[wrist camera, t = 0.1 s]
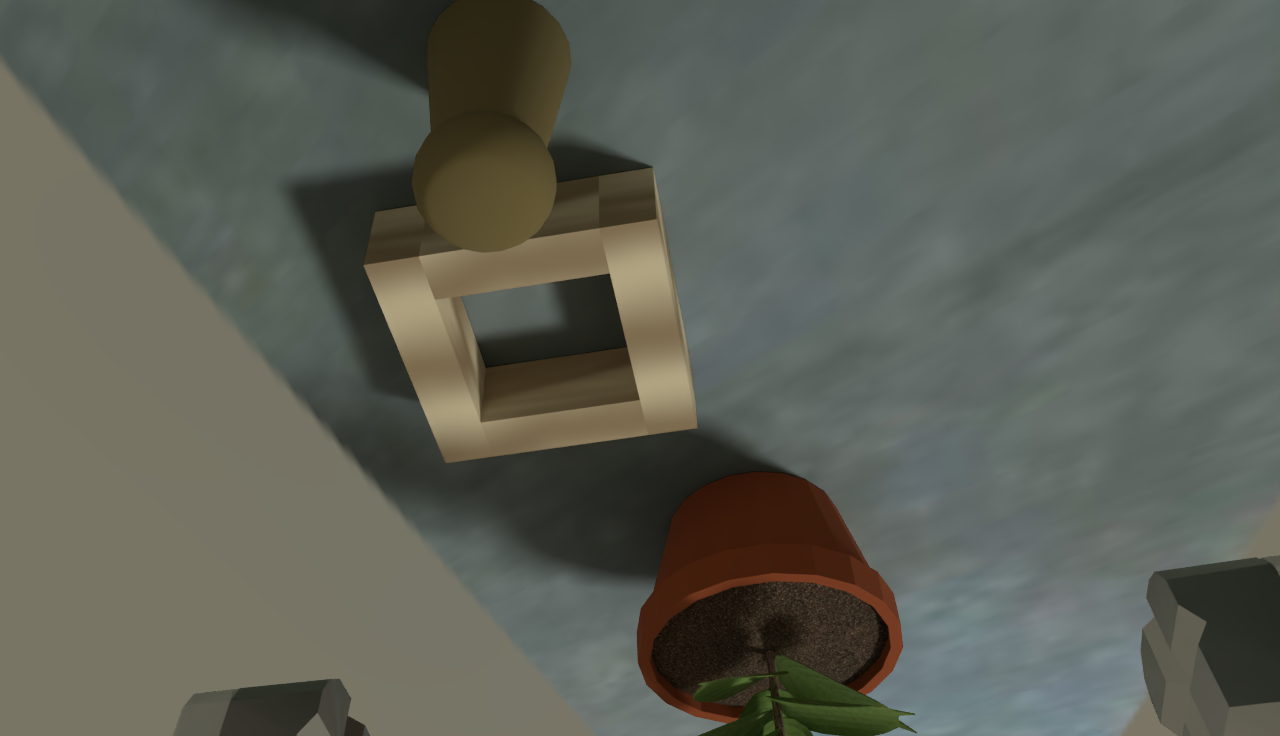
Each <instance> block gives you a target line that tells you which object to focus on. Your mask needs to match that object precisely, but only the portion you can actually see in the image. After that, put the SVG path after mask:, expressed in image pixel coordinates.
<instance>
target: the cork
mask: <svg viewBox="0 0 1280 736" xmlns="http://www.w3.org/2000/svg"><path fill="white" fill-rule="evenodd" d="M426 57H427V74H428V91H429V107H430V124H431V132H430V134H429V135H428V136H427V138H426V139H425V141H424V142H423V144H422V146H421V148H420V149H419V151H418V153H417V155H416V158H415V162H414V168H413V176H412V183H411V184H412V188H413V192H414V196H415V200H416V204H417V209H418V211H419V213H420V214H421V216H422V217H423V219H424V220H425V222H426V223H427V225H428V226H429V227H430V228H431V229H432V230H433V231H435V232H436V233H437V234H438V235H439V236H441V237H442V238H443V239H444V240H446V241H447V242H449V243H451V244H453V245H455V246H458V247H460V248H462V249H464V250H470V251H476V252H482V253H486V252H498V251H504V250H506V249H509V248H512V247H515V246H518V245H520V244H522V243H523V242H525V241H526V240H528V239H529V238H530V237H532V236H533V235H534V234H536V233H537V232H538V231H539V230H540V228H541V227H542V225H543V224H544V222H545V221H546V220H547V218H548V217H549V215H550V213H551V211H552V208H553V204H554V200H555V195H556V191H557V181H556V174H555V167H554V162H553V160H552V157H551V155H550V153H549V151H548V149H547V148H548V144H549V141H550V138H551V134H552V131H553V127H554V124H555V121H556V117H557V114H558V110H559V107H560V104H561V100H562V97H563V93H564V90H565V87H566V83H567V79H568V75H569V70H570V66H571V58H570V50H569V42H568V40H567V38H566V36H565V34H564V32H563V30H562V28H561V26H560V24H559V22H558V21H557V20H556V19H555V18H554V17H553V16H552V15H551V14H550V13H549V12H548V11H547V10H546V9H545V8H544V7H543V6H541V5H539V4H538V3H536V2H534V1H532V0H456V1H455V2H453V3H452V4H451V5H450V6H449V7H448V8H447V9H446V10H444V11H443V12H442V13H441V14H440V15H439V16H438V18H437V20H436V22H435V24H434V25H433V27H432V29H431V31H430V33H429V38H428V45H427V53H426Z"/></svg>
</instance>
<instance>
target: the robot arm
mask: <svg viewBox="0 0 1280 736" xmlns="http://www.w3.org/2000/svg"><path fill="white" fill-rule="evenodd" d="M1146 598H1147V601H1148V603H1149V605H1150V607H1151V609H1152V612H1153V614H1154V616H1155V617H1154V618H1153V619H1152V620H1151V621H1150V622H1149V623H1148V624H1147V625H1146V626H1145V627H1144V628H1143V629H1142V642H1141V657H1142V665H1143V672H1144V679H1145V682H1146V685H1147V689H1148V692H1149V695H1150V699H1151V701H1152V704H1153V706H1154V709H1155V711H1156V713H1157V716H1158V718H1159V721H1160V723H1161V724H1163V725H1164V726H1165V727H1167V728H1168V729H1169V730H1171V731H1172V732H1174V733H1175V734H1176V735H1178V736H1280V555H1279V556H1271V557H1263V558H1261V559H1258V558H1249V559H1241V560H1234V561H1227V562H1220V563H1213V564H1206V565H1199V566H1192V567H1185V568H1178V569H1171V570H1164V571H1156V572H1154V573H1153V575H1152V576H1151V578H1150V579H1149V583H1148V590H1147V597H1146ZM350 701H351V697H350V696H349V694H348V692H347V690H346V689H345V687H344V686H343V684H342V682H341V680H340V679H327V680H317V681H307V682H297V683H288V684H278V685H268V686H258V687H248V688H240V689H231V690H223V691H214V692H205V693H197V694H194V695H193V696H192V697H191V698H190V699H189V700H188V702H187V703H186V704H185V705H184V707H183V708H182V710H181V713H180V716H179V719H178V721H177V724H176V727H175V730H174V733H173V736H370V735H369V733H368V730H367V729H366V726H365V725H364V724H362V723H360V722H358V721H356V720H355V719H353V718H351V717H349V716H348V711H349V706H350Z"/></svg>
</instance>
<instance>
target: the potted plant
mask: <svg viewBox="0 0 1280 736" xmlns="http://www.w3.org/2000/svg"><path fill="white" fill-rule="evenodd" d="M902 648H903V642H902V633H901V624H900V620H899V615H898V611H897V606H896V602H895V598H894V594H893V592H892V591H891V589H890V588H889V587H888V585H887V584H886V583H885V581H884V580H883V579H882V577H881V576H880V575H879V573H878V572H877V571H875V570H874V569H872V568H870V567H869V565H868V563H867V562H866V560H865V558H864V556H863V554H862V553H861V551H860V549H859V547H858V546H857V544H856V542H855V540H854V538H853V537H852V535H851V533H850V531H849V529H848V528H847V526H846V524H845V522H844V521H843V519H842V517H841V515H840V513H839V512H838V510H837V508H836V506H835V505H834V504H833V502H832V501H831V500H830V498H829V497H828V495H827V494H826V493H825V492H824V491H823V490H821V489H820V488H818V487H817V486H815V485H813V484H812V483H810V482H809V481H807V480H805V479H801V478H798V477H794V476H791V475H787V474H784V473H771V472H750V473H744V474H738V475H732V476H727V477H724V478H722V479H719V480H717V481H714V482H712V483H710V484H707V485H705V486H702V487H701V488H700V489H698V490H697V491H696V492H694V493H693V494H692V495H690V496H689V497H688V498H686V499H685V500H684V501H683V502H682V504H681V505H680V507H679V508H678V510H677V511H676V513H675V514H674V515H673V517H672V521H671V525H670V529H669V533H668V537H667V541H666V545H665V548H664V552H663V556H662V560H661V564H660V568H659V572H658V576H657V579H656V583H655V587H654V591H653V593H652V594H651V595H650V597H649V598H648V599H647V601H646V602H645V604H644V605H643V606H642V608H641V611H640V617H639V623H638V629H637V652H638V664H639V667H640V669H641V672H642V674H643V677H644V680H645V682H646V685H647V686H648V687H650V688H651V689H652V690H653V691H654V692H655V693H656V694H657V695H658V696H659V697H660V698H661V699H662V700H664V701H665V702H666V703H667V704H669V705H672V706H674V707H676V708H678V709H680V710H682V711H684V712H687V713H689V714H691V715H693V716H695V717H700V718H705V719H710V720H714V721H719V722H724V723H728V724H726V725H723V726H721V727H718V728H716V729H713V730H711V731H708V732H706V733H704V734H701V735H699V736H813V735H812V733H811V732H810V731H814V732H818V733H822V734H830V735H840V736H875V735H879V734H884V733H887V732H889V731H892V730H894V729H896V728H898V727H900V728H903V729H906V730H909V731H912V732H915V733H917V732H916V731H914V730H913V729H911V728H910V727H908V726H907V725H905V724H904V723H902V722H901V721H899V719H898V718H899V716H901V715H915V714H914V713H909V712H903V711H898V710H893V709H890V708H888V707H886V706H885V705H883V704H881V703H880V702H878V701H876V700H874V699H872V698H870V697H868V696H866V694H868V693H870V692H871V691H873V690H874V689H875V688H876V687H877V686H878V685H879V684H880V683H881V682H882V681H883V680H884V679H885V678H886V677H887V676H888V675H889V674H890V673H891V672H892V671H893V669H894V667H895V665H896V662H897V660H898V658H899V655H900V653H901V651H902Z"/></svg>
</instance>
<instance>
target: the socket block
mask: <svg viewBox="0 0 1280 736" xmlns="http://www.w3.org/2000/svg"><path fill="white" fill-rule="evenodd" d="M363 266H364V268H365V270H366V273H367V275H368V278H369V280H370V282H371V285H372V287H373V290H374V292H375V294H376V297H377V299H378V302H379V304H380V307H381V309H382V311H383V314H384V316H385V319H386V321H387V323H388V326H389V328H390V331H391V333H392V335H393V338H394V340H395V343H396V345H397V347H398V350H399V352H400V355H401V357H402V360H403V362H404V364H405V367H406V369H407V372H408V374H409V376H410V379H411V381H412V384H413V386H414V388H415V391H416V393H417V396H418V398H419V400H420V403H421V405H422V408H423V410H424V413H425V415H426V417H427V420H428V422H429V425H430V427H431V429H432V432H433V434H434V437H435V439H436V441H437V444H438V446H439V449H440V451H441V453H442V456H443V458H444V461H445V463H451V462H458V461H465V460H473V459H480V458H487V457H494V456H501V455H508V454H516V453H523V452H530V451H537V450H544V449H551V448H559V447H566V446H573V445H580V444H587V443H594V442H602V441H609V440H616V439H623V438H630V437H637V436H645V435H652V434H659V433H666V432H673V431H680V430H688V429H695V428H697V417H696V406H695V396H694V385H693V374H692V368H691V363H690V358H689V353H688V348H687V342H686V337H685V332H684V327H683V321H682V316H681V311H680V306H679V300H678V295H677V290H676V285H675V279H674V274H673V269H672V264H671V258H670V253H669V248H668V243H667V238H666V232H665V227H664V222H663V217H662V211H661V206H660V201H659V196H658V190H657V185H656V180H655V175H654V169H653V167H652V168H646V169H640V170H633V171H627V172H621V173H615V174H608V175H602V176H596V177H590V178H583V179H577V180H571V181H565V182H559V183H557V191H556V195H555V200H554V204H553V208H552V211H551V213H550V215H549V217H548V218H547V220H546V221H545V222H544V224H543V225H542V227H541V228H540V230H539V231H538V232H537V233H536V234H534V235H533V236H532V237H530V238H529V239H528V240H526V241H525V242H523V243H522V244H520V245H518V246H515V247H512V248H509V249H506V250H504V251H498V252H486V253H482V252H476V251H470V250H464V249H462V248H460V247H458V246H455V245H453V244H451V243H449V242H447V241H446V240H444V239H443V238H442V237H441V236H439V235H438V234H437V233H436V232H435V231H433V230H432V229H431V228H430V227H429V226H428V225H427V223H426V222H425V220H424V219H423V217H422V216H421V214H420V213H419V211H418V209H417V205H415V206H409V207H403V208H396V209H390V210H384V211H378V212H375V216H374V220H373V225H372V229H371V234H370V238H369V242H368V247H367V251H366V256H365V260H364V264H363ZM609 273H610V276H611V280H612V284H613V288H614V293H615V297H616V301H617V305H618V310H619V314H620V318H621V322H622V326H623V331H624V335H625V339H626V343H627V347H625V348H618V349H611V350H604V351H598V352H591V353H584V354H577V355H570V356H564V357H557V358H550V359H543V360H536V361H529V362H523V363H516V364H509V365H502V366H495V367H488V368H486V367H485V364H484V361H483V358H482V356H481V353H480V350H479V347H478V344H477V341H476V338H475V336H474V333H473V330H472V327H471V324H470V321H469V319H468V316H467V313H466V310H465V307H464V304H463V302H462V299H461V296H465V295H471V294H478V293H484V292H491V291H497V290H504V289H511V288H517V287H524V286H530V285H537V284H543V283H550V282H556V281H563V280H570V279H576V278H583V277H589V276H596V275H602V274H609Z"/></svg>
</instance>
